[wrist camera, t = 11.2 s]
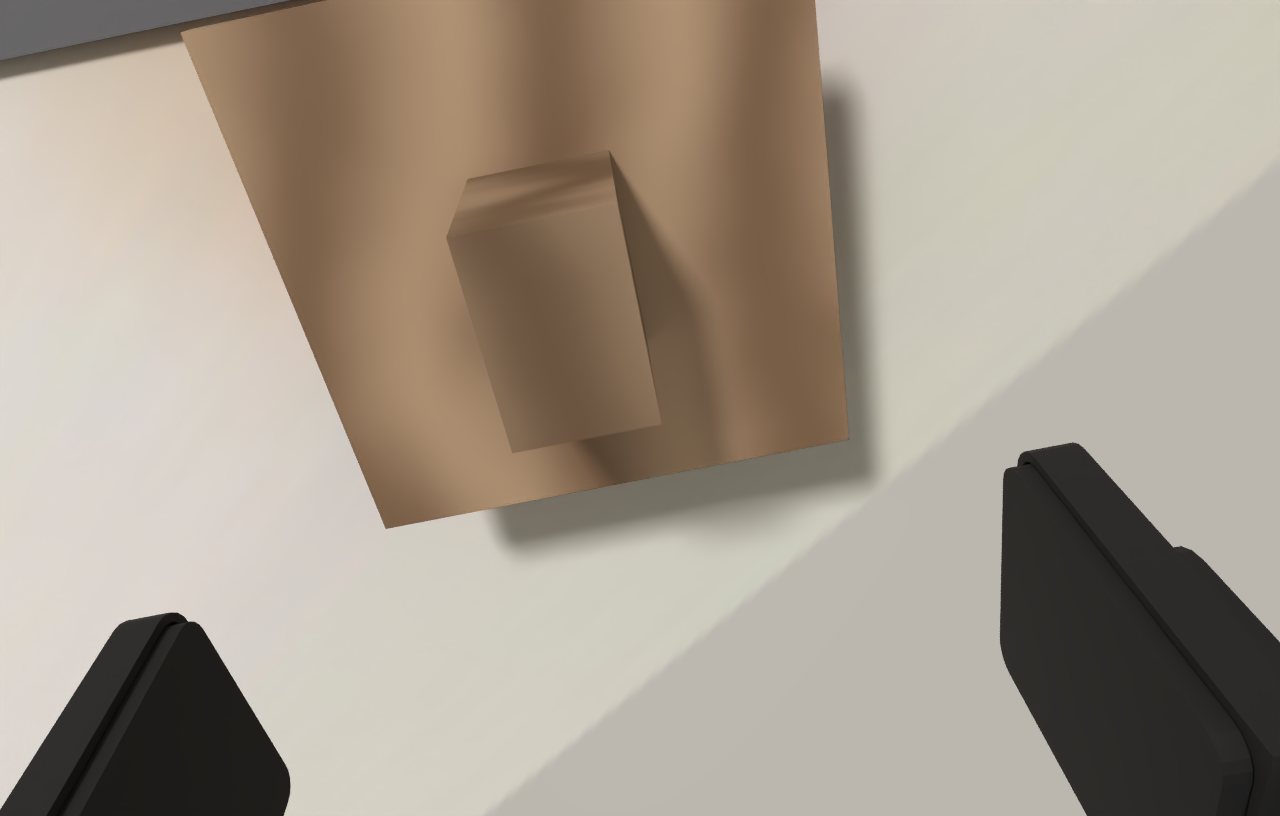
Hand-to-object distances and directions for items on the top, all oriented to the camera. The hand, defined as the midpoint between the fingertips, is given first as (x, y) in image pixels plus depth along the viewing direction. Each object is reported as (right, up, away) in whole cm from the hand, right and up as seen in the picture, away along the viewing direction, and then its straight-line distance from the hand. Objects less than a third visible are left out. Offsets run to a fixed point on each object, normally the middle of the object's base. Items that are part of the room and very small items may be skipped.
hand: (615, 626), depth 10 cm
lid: (-2, +7, +16) cm, 18 cm away
